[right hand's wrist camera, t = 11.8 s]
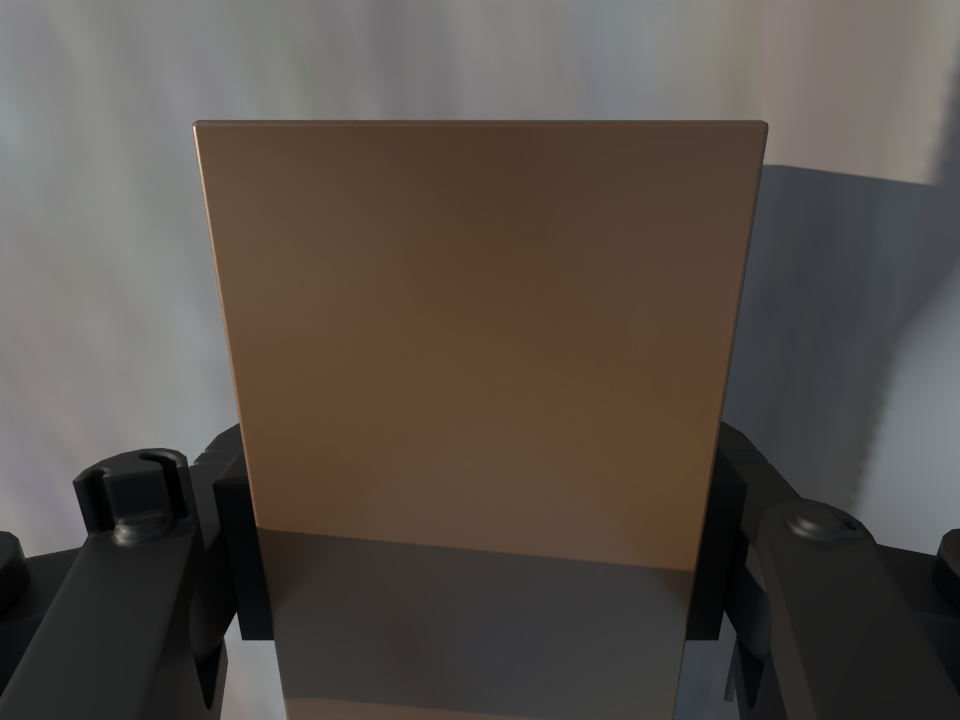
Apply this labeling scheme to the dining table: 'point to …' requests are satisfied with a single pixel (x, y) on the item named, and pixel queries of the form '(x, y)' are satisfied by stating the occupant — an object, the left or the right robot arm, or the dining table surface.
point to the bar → (480, 399)
